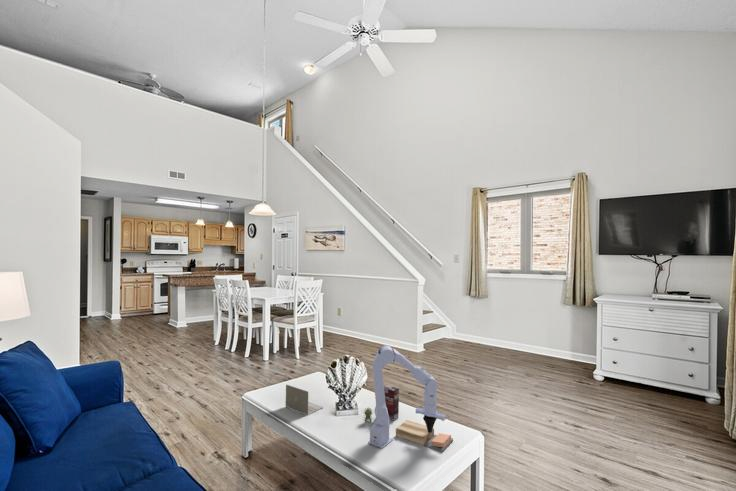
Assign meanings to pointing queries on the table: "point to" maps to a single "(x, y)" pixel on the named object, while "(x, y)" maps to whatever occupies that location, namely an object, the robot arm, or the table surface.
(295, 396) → the laptop
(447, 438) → the block
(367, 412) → the green toy figurine
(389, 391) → the supplement box
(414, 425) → the deck
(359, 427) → the table surface
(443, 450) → the mat
